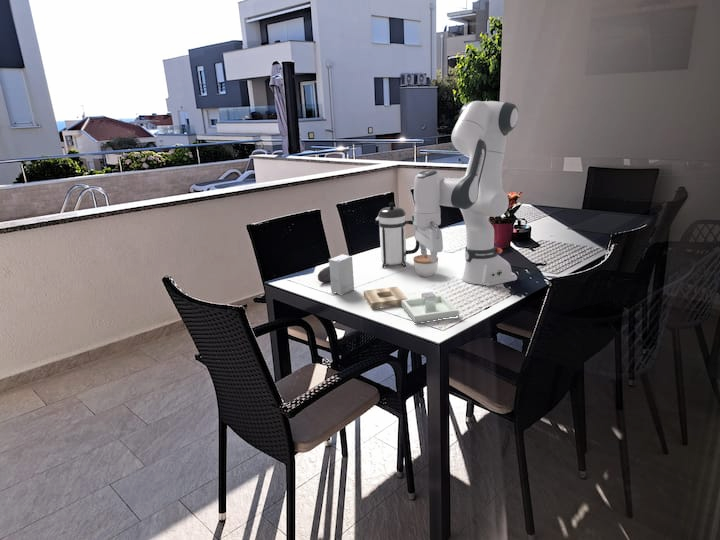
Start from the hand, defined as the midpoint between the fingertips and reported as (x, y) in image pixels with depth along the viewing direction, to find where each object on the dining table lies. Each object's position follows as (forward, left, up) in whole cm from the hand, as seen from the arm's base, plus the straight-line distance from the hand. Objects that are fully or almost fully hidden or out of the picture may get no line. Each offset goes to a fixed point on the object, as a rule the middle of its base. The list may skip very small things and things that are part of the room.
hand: (428, 258), depth 171 cm
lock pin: (0, 0, -20) cm, 20 cm away
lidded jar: (-13, -41, -21) cm, 48 cm away
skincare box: (+26, -33, -21) cm, 47 cm away
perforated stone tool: (+28, -49, -21) cm, 60 cm away
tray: (0, 0, -21) cm, 21 cm away
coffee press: (-5, -61, -21) cm, 65 cm away
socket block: (+12, -17, -21) cm, 29 cm away
